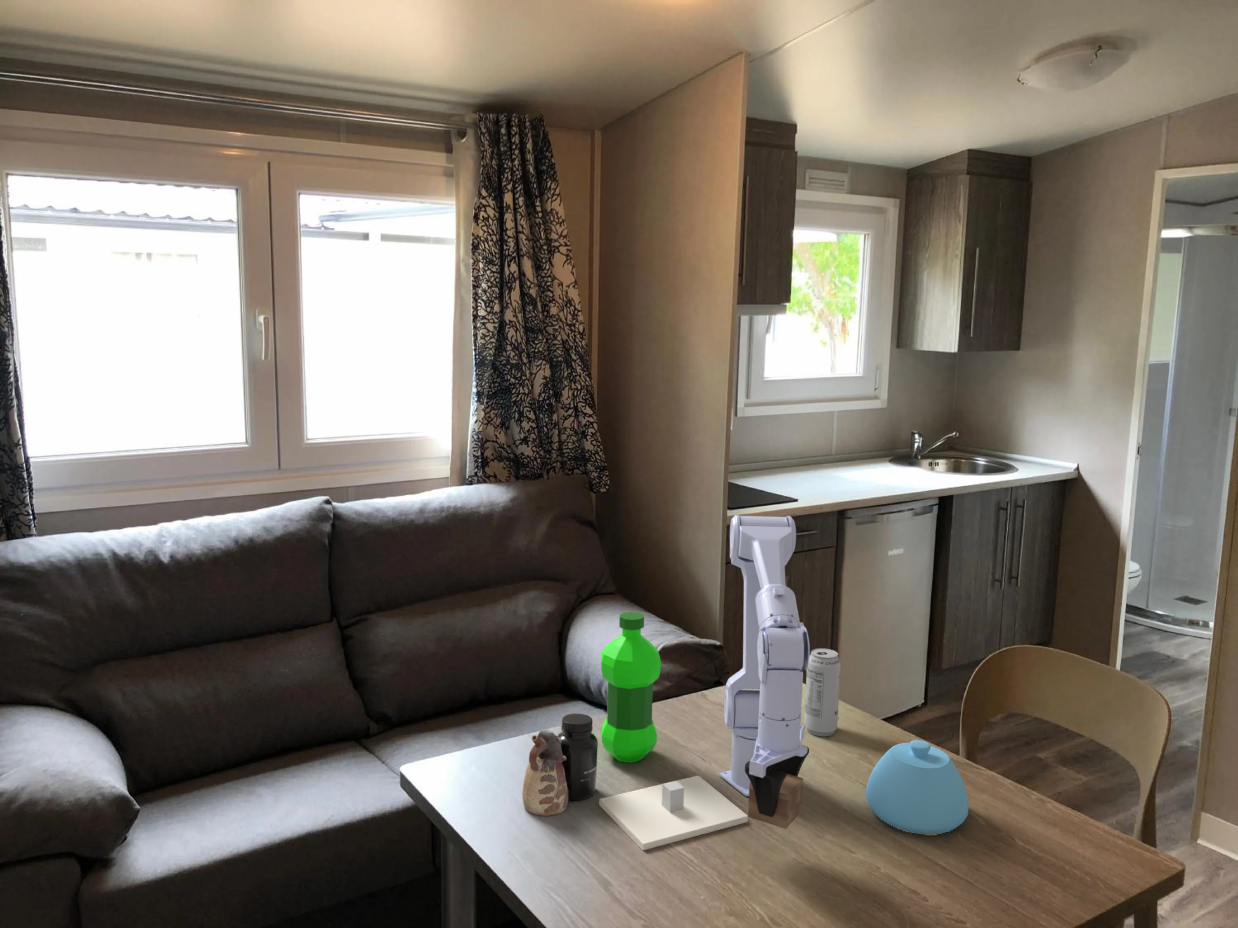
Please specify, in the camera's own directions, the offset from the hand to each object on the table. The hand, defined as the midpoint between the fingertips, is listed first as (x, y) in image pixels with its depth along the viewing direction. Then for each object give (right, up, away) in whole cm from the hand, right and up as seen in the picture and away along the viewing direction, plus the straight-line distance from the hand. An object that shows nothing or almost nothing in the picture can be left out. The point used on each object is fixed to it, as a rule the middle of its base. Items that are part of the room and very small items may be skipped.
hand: (775, 804), depth 131 cm
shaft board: (-14, -6, +12) cm, 19 cm away
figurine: (-33, -5, +14) cm, 36 cm away
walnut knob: (0, -1, 0) cm, 1 cm away
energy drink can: (+15, -2, +42) cm, 45 cm away
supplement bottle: (-29, -5, +18) cm, 34 cm away
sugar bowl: (+24, -7, +13) cm, 28 cm away
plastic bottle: (-20, -3, +31) cm, 37 cm away
